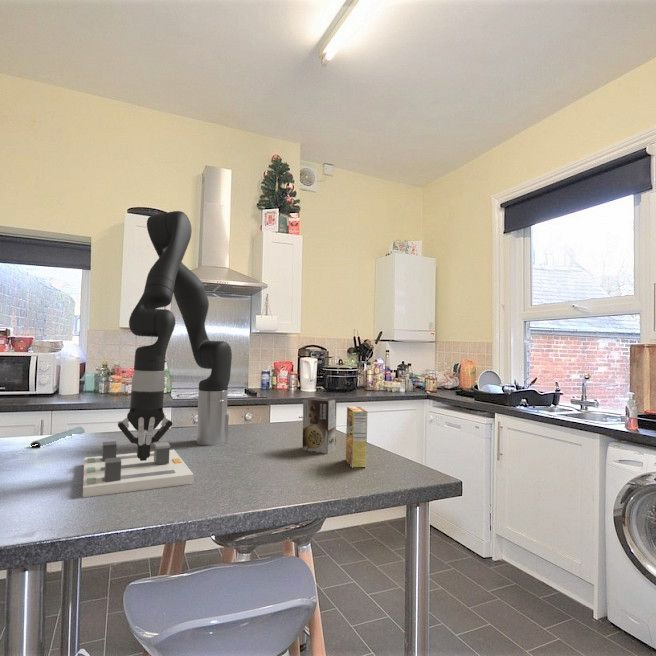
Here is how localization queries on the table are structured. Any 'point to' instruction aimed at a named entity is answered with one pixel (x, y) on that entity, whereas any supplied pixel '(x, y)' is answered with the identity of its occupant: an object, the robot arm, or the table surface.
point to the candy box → (356, 436)
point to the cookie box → (319, 424)
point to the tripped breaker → (161, 452)
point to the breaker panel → (131, 472)
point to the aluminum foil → (58, 436)
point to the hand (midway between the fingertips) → (142, 459)
